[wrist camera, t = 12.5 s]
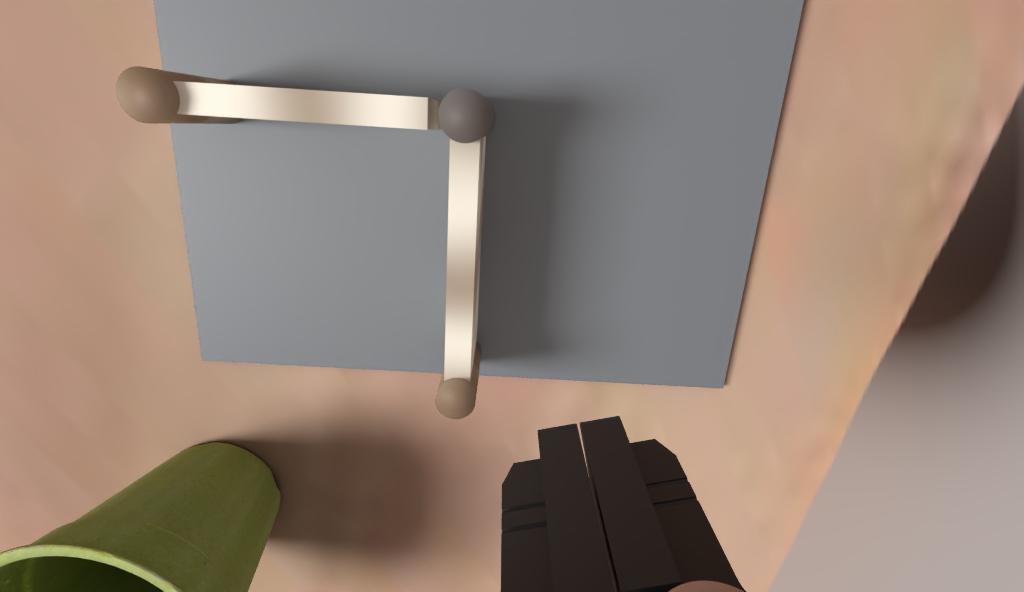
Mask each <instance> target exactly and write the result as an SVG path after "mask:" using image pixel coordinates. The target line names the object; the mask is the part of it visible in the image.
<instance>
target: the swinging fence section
mask: <svg viewBox="0 0 1024 592" xmlns="http://www.w3.org/2000/svg"><path fill="white" fill-rule="evenodd" d="M438 118H439V123H440V126H441V128H442V130H443V132H444V133H445V134H446V135H447V136H448V137H449V138H450V157H449V198H448V239H447V281H446V322H445V363H444V370H443V373H442V377H441V381H440V384H439V388H438V392H437V395H436V406H437V409H438V410H439V412H440V413H441V414H443V415H444V416H446V417H448V418H451V419H461V418H464V417H466V416H468V415H469V414H470V413H471V412H472V411H473V409H474V406H475V400H476V392H477V384H478V377H479V369H480V361H481V353H482V350H481V346H480V344H479V342H478V341H477V324H478V301H479V279H480V256H481V234H482V212H483V189H484V167H485V144H486V136H487V135H488V134H489V133H490V132H491V130H492V128H493V126H494V123H495V114H494V110H493V108H492V106H491V105H490V103H489V102H488V101H487V100H486V99H485V98H484V97H483V96H482V95H481V94H480V93H478V92H477V91H475V90H473V89H469V88H458V89H455V90H453V91H451V92H449V93H448V94H447V95H446V96H445V97H444V98H443V100H442V102H441V104H440V107H439V111H438Z"/></svg>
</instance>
